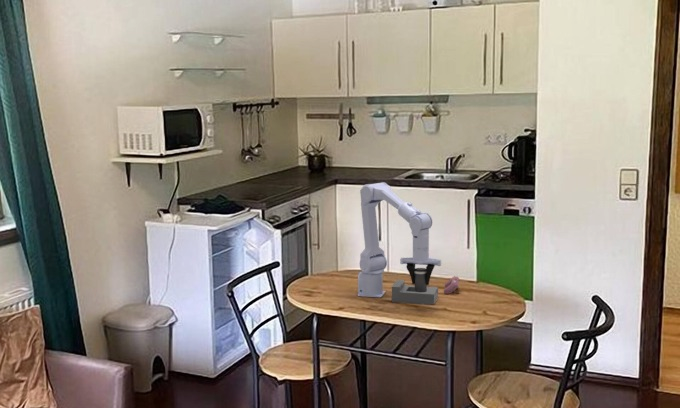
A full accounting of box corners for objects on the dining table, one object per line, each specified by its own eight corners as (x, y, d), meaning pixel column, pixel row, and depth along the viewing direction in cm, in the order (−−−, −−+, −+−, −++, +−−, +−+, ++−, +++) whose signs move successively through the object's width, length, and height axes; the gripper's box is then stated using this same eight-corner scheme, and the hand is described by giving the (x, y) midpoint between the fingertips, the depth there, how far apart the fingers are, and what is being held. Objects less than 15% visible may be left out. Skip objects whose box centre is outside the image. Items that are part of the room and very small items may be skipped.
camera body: (391, 302, 263) (391, 286, 262) (397, 294, 272) (397, 279, 271) (434, 304, 258) (434, 289, 257) (437, 297, 268) (438, 282, 267)
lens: (413, 292, 251) (413, 270, 250) (415, 288, 256) (415, 267, 254) (426, 292, 250) (426, 271, 249) (428, 289, 254) (428, 268, 253)
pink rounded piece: (453, 298, 271) (461, 283, 270) (442, 293, 272) (450, 277, 270) (453, 291, 281) (462, 276, 279) (443, 286, 281) (451, 271, 280)
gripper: (398, 248, 248) (398, 285, 251) (439, 250, 244) (439, 288, 247) (402, 244, 255) (402, 280, 257) (442, 246, 251) (441, 282, 253)
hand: (420, 284), depth 252 cm, fingers closed on lens, 4 cm apart
